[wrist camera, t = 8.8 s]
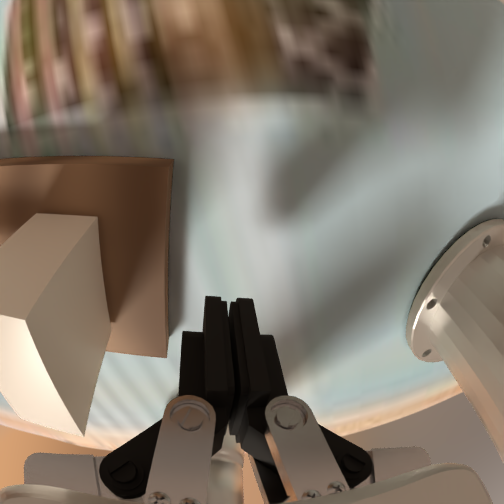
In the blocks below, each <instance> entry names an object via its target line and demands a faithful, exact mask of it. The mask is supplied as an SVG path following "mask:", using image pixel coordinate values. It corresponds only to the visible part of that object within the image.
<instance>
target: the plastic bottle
mask: <svg viewBox="0 0 504 504" xmlns="http://www.w3.org/2000/svg"><path fill="white" fill-rule="evenodd" d="M243 463H244V450H243V449H241V445H240V443H236V439H235V435H230V434H229V425H228V426H227V430H226V435H224V439H223V444H222V448H221V449H220V450H219V451H218V452H217V453H216V454H215V455H213V456H212V457H211V465H210V474H209V483H208V492H207V501H206V504H244V499H243V498H244V496H243V475H242V474H243V473H242V468H243Z"/></svg>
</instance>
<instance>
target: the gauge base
mask: <svg viewBox="0 0 504 504" xmlns="http://www.w3.org/2000/svg"><path fill="white" fill-rule="evenodd" d="M173 163H174V159H162V158H145V157H120V156H44V157H21V158H5V159H0V246H1V245H2V244H3V243H4V242H5V241H6V240H7V239H8V238H9V237H10V236H12V235H13V234H14V233H15V232H16V231H17V230H18V229H19V228H20V227H21V226H22V225H23V224H25V223H26V222H27V221H28V220H29V219H30V218H31V217H33V216H34V215H35V214H36V213H42V214H61V215H79V216H95V217H98V231H99V243H100V254H101V263H102V272H103V280H104V287H105V294H106V301H107V307H108V313H109V319H110V324H111V330H112V331H111V334H110V338H109V341H108V344H107V347H106V351H109V352H116V353H124V354H132V355H141V356H150V357H161V358H167V350H168V342H169V327H168V253H169V224H170V205H171V189H172V175H173Z"/></svg>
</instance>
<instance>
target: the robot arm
mask: <svg viewBox="0 0 504 504" xmlns="http://www.w3.org/2000/svg"><path fill="white" fill-rule="evenodd" d="M406 339H407V342H408V345H409V347H410V348H411V350H412V352H413V353H414V355H415V356H416V357H417V358H418V359H419V360H422V361H425V362H439V361H444V362H445V364H446V365H447V367H448V368H449V370H450V371H451V373H452V375H453V376H454V378H455V379H456V381H457V382H458V384H459V386H460V387H461V389H462V390H463V392H464V393H465V395H466V397H467V398H468V400H469V402H470V403H471V405H472V407H473V408H474V410H475V412H476V414H477V415H478V417H479V419H480V420H481V422H482V424H483V426H484V427H485V429H486V431H487V432H488V435H489V436H490V438H491V440H492V442H493V444H494V446H495V448H496V450H497V451H498V454H499V456H500V458H501V460H502V462H503V464H504V220H503V219H492V220H489V221H486V222H483V223H481V224H479V225H477V226H476V227H474V228H472V229H471V230H469V231H468V232H467V233H465V234H464V235H463V236H462V237H461V238H459V239H458V240H457V241H456V242H455V243H454V244H453V245H452V246H451V247H450V248H449V249H448V250H447V251H446V252H445V253H444V255H443V256H442V257H441V258H440V260H439V261H438V262H437V263H436V265H435V266H434V267H433V269H432V270H431V272H430V273H429V275H428V276H427V278H426V279H425V281H424V282H423V284H422V286H421V288H420V290H419V292H418V293H417V295H416V297H415V299H414V302H413V305H412V307H411V310H410V312H409V316H408V320H407V325H406ZM228 425H229V434H230V435H235V439H236V443H240V445H241V449H243V450H244V451H245V452H247V453H248V454H249V460H250V463H251V466H252V468H253V472H254V475H255V478H256V481H257V483H258V487H259V490H260V492H261V495H262V498H263V501H264V504H493V502H492V500H491V498H490V495H489V493H488V491H487V489H486V487H485V485H484V484H483V482H482V480H481V479H480V477H479V476H478V474H477V473H476V472H475V471H474V470H473V469H472V468H471V467H468V466H467V465H463V464H457V463H440V464H434V465H431V461H430V457H429V455H428V453H427V452H426V451H425V450H424V449H423V448H421V447H415V446H413V447H400V448H375V449H371V450H370V451H365V450H363V449H362V448H360V447H358V446H356V445H355V444H353V443H351V442H349V441H347V440H345V439H344V438H342V437H340V436H338V435H337V434H335V433H333V432H331V431H330V430H328V429H326V428H324V427H323V426H321V425H319V424H318V423H317V421H316V419H315V417H314V415H313V412H312V410H311V409H310V407H309V406H308V404H307V403H305V402H304V401H303V400H301V399H299V398H297V397H294V396H289V395H288V393H287V389H286V385H285V381H284V377H283V373H282V369H281V365H280V361H279V357H278V353H277V349H276V345H275V341H274V338H273V336H272V335H260V332H259V327H258V322H257V317H256V312H255V307H254V302H253V299H249V298H237V299H236V302H231V303H230V310H229V316H228V310H227V301H221V297H215V296H205V307H204V319H203V332H190V331H183V332H182V345H181V361H180V379H179V397H177V398H175V399H173V400H172V401H170V402H169V403H168V404H167V406H166V409H165V411H164V415H163V418H162V419H161V420H159V421H158V422H157V423H155V424H154V425H152V426H151V427H149V428H148V429H146V430H145V431H143V432H142V433H140V434H139V435H137V436H136V437H134V438H133V439H131V440H130V441H128V442H127V443H125V444H124V445H122V446H121V447H119V448H117V449H116V450H114V451H113V452H111V453H109V454H108V455H107V456H105V457H94V456H93V455H74V454H52V453H34V454H32V455H30V456H29V457H28V458H27V459H26V461H25V465H24V481H25V482H24V484H23V485H14V486H8V487H5V488H2V489H1V490H0V504H206V501H207V492H208V483H209V474H210V465H211V457H212V456H213V455H215V454H216V453H217V452H218V451H219V450H220V449H221V448H222V444H223V439H224V435H226V430H227V426H228Z"/></svg>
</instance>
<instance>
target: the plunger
mask: <svg viewBox="0 0 504 504" xmlns="http://www.w3.org/2000/svg"><path fill="white" fill-rule="evenodd" d="M111 331H112V330H111V324H110V319H109V313H108V307H107V301H106V294H105V287H104V280H103V272H102V263H101V254H100V243H99V231H98V217H95V216H79V215H61V214H42V213H36V214H35V215H34V216H33V217H31V218H30V219H29V220H28V221H27V222H26V223H25V224H23V225H22V226H21V227H20V228H19V229H18V230H17V231H16V232H15V233H14V234H13V235H12V236H10V237H9V238H8V239H7V240H6V241H5V242H4V243H3V244H2V245H1V246H0V392H1V393H2V395H3V396H4V397H5V399H6V400H7V402H8V403H9V404H10V406H11V407H12V408H13V410H14V411H15V412H16V414H17V415H18V416H19V418H20V419H23V420H26V421H29V422H32V423H35V424H38V425H41V426H44V427H48V428H51V429H55V430H58V431H62V432H66V433H70V434H74V435H78V436H82V437H84V435H85V430H86V425H87V421H88V416H89V412H90V407H91V403H92V399H93V395H94V391H95V387H96V383H97V379H98V375H99V372H100V368H101V365H102V361H103V358H104V354H105V351H106V347H107V344H108V341H109V338H110V334H111Z"/></svg>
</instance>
